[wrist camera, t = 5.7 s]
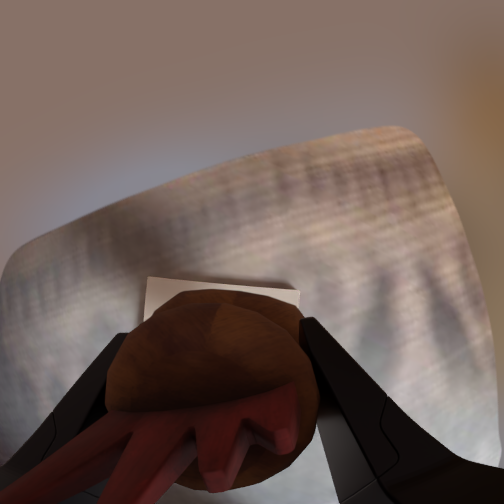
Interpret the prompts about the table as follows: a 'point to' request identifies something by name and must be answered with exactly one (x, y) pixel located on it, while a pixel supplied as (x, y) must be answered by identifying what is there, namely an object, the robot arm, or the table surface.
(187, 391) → the wooden figurine
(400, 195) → the table surface
